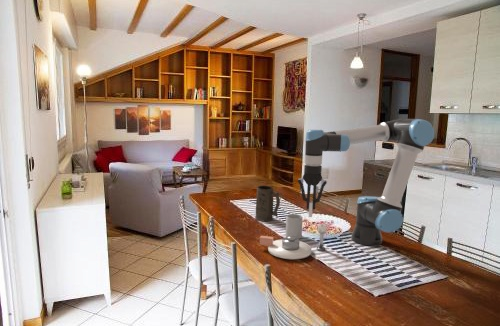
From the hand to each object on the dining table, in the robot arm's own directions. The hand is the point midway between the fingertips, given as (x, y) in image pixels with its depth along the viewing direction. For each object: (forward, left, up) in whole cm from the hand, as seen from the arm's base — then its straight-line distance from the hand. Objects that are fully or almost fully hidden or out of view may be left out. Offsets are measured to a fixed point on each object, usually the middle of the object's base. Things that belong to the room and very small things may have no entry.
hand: (310, 216), depth 158 cm
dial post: (-5, -8, -18) cm, 21 cm away
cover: (+8, 0, -16) cm, 18 cm away
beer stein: (+29, -46, -19) cm, 57 cm away
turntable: (+11, 0, -17) cm, 20 cm away
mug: (+11, -23, -19) cm, 31 cm away
